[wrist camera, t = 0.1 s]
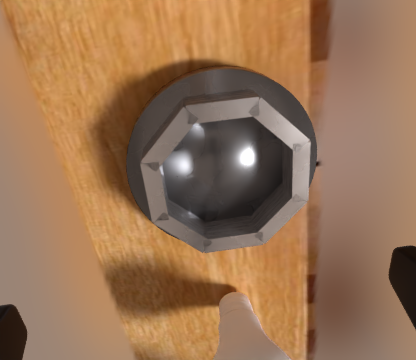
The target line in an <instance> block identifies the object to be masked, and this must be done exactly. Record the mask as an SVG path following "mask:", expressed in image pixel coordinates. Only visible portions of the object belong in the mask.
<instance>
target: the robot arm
mask: <svg viewBox="0 0 416 360" xmlns="http://www.w3.org/2000/svg"><path fill="white" fill-rule="evenodd" d="M389 280H390V283H391V285H392V287H393V289H394V291H395V292H396V294H397V296H398V298H399V300H400V302H401V303H402V305H403V307H404V309H405V311H406V313H407V314H408V316H409V318H410V320H411V322H412V324H413V326H414V327H415V329H416V247H415V246H403V247H397V248H395V249H394V250H393V253H392V258H391V263H390V268H389ZM26 341H27V329H26V326H25V324H24V322H23V320H22V318H21V316H20V314H19V312H18V310H17V308H16V307H15V306H14V305H12V304H8V305H1V306H0V360H22V358H23V353H24V349H25V345H26Z"/></svg>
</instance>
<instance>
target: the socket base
mask: <svg viewBox="0 0 416 360" xmlns="http://www.w3.org/2000/svg"><path fill="white" fill-rule="evenodd" d="M316 160H317V144H316V138H315V133H314V129H313V126H312V123H311V121H310V119H309V117H308V115H307V113H306V111H305V110H304V108H303V107H302V105H301V104H300V102H299V101H298V100H297V99H296V98H295V97H294V96H293V95H292V94H291V93H290V92H289V91H288V90H286V89H285V88H284V87H283V86H281V85H280V84H278V83H277V82H275V81H274V80H272V79H270V78H268V77H267V76H265V75H263V74H261V73H258V72H255V71H253V70H250V69H246V68H241V67H234V66H212V67H206V68H201V69H197V70H194V71H191V72H188V73H186V74H184V75H182V76H180V77H178V78H176V79H174V80H172V81H171V82H169V83H168V84H166V85H165V86H164V87H162V88H161V89H160V90H159V91H158V92H157V93H156V94H155V95H154V96H153V97H152V98H151V99H150V100H149V102H148V103H147V104H146V105H145V107H144V108H143V110H142V111H141V113H140V115H139V117H138V119H137V121H136V123H135V125H134V128H133V131H132V135H131V138H130V141H129V145H128V151H127V158H126V163H127V176H128V182H129V185H130V189H131V192H132V194H133V196H134V198H135V201H136V203H137V204H138V206H139V207H140V209H141V210H142V212H143V213H144V214H145V215H146V216H147V218H148V219H149V220H150V221H151V222H152V223H153V224H155V225H156V226H157V227H158V228H160V229H161V230H163V231H164V232H166V233H167V234H169V235H171V236H173V237H175V238H177V239H180V240H182V241H184V242H185V243H187V244H189V245H190V246H192V247H194V248H196V249H197V250H199V251H201V252H202V253H203V252H204V253H209V252H215V251H222V250H229V249H236V248H243V247H250V246H257V245H263V243H264V244H265V243H266V242H267V241H268V240H269V239H270V238H271V237H272V236H273V235H274V234H275V233H276V232H277V231H278V230H279V229H281V228H282V227H283V226H284V225H285V224H286V223H287V222H288V221H289V220H290V219H291V218H292V217H293V216H294V215H295V214H296V213H297V212H298V211H299V210H300V209H301V208H302V207H303V206H304V205H305V204H306V203H307V201H308V193H309V187H310V184H311V182H312V179H313V176H314V172H315V168H316Z"/></svg>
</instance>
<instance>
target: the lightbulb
mask: <svg viewBox="0 0 416 360" xmlns="http://www.w3.org/2000/svg"><path fill="white" fill-rule="evenodd" d="M219 311H220V322H219V345H218V349H217V352H216V354H215V356H214V358H213V360H291V359H290V358H289V356H288V355H287V354H286V353H285V352H284V351H283V350H282V349H281V348H280V347H279V346H278V345H276V344H275V343H274V342H273V341H272V340H270V339H269V337H268V336H267V335H266V334H265V332H264V330H263V328H262V327H261V324H260V321H259V319H258V317H257V316H256V314H255V313H253V309H252V306H251V304H250V301H249V299H248V297H247V296H246V295H245V294H243V293H240V292H231V293H228V294H226V295H225V296H224V297H223V298H222V299H221V300H220V303H219Z"/></svg>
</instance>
